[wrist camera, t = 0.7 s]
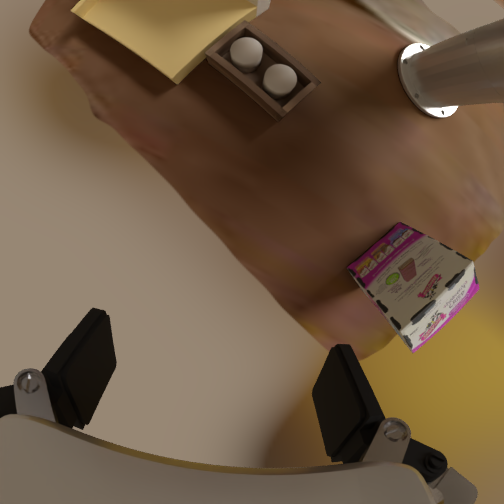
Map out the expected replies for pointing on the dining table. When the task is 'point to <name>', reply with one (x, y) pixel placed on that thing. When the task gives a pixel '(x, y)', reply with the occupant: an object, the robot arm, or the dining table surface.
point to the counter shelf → (169, 27)
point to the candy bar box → (415, 282)
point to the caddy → (261, 69)
